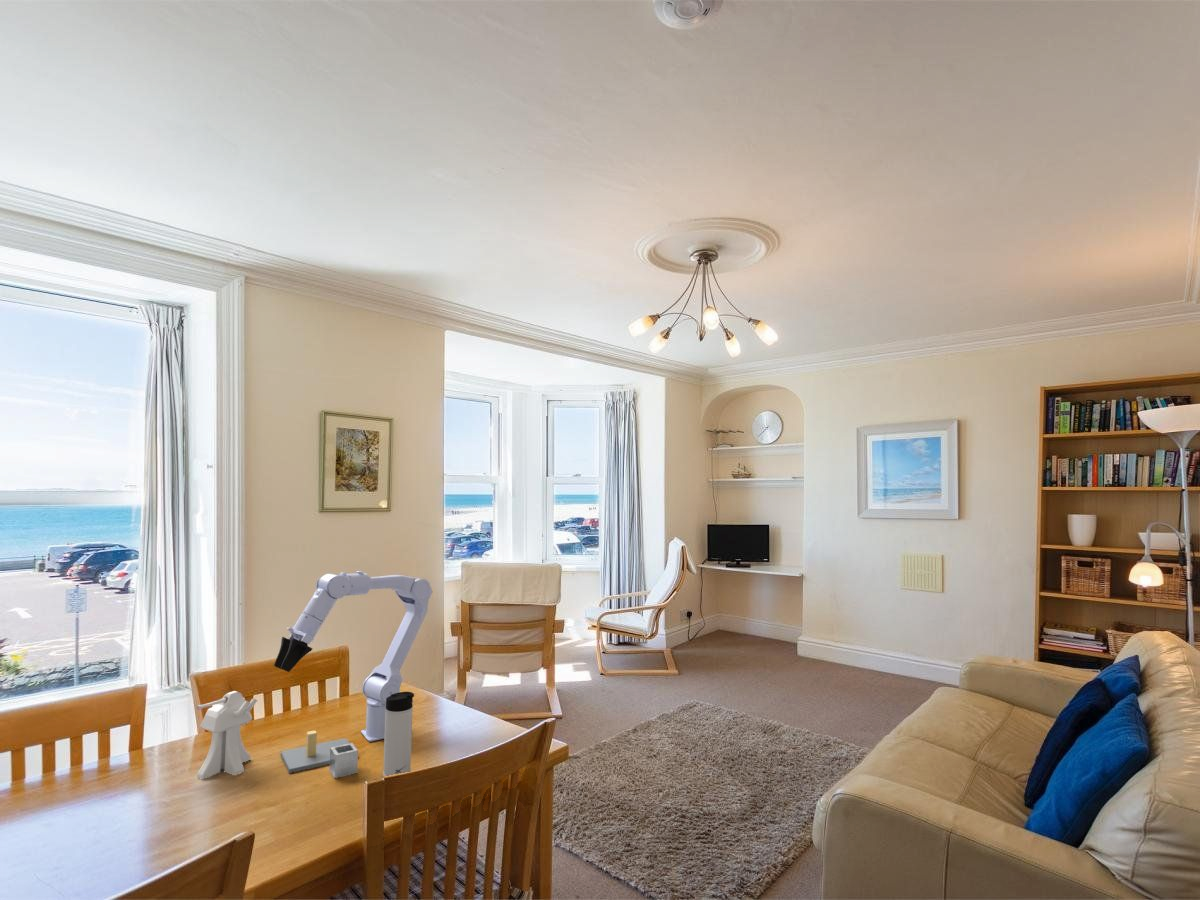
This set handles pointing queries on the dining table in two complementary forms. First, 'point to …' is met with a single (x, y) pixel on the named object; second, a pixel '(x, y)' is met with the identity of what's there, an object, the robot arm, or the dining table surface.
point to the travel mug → (398, 733)
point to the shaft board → (312, 761)
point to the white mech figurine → (226, 734)
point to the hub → (343, 760)
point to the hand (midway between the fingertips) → (281, 669)
